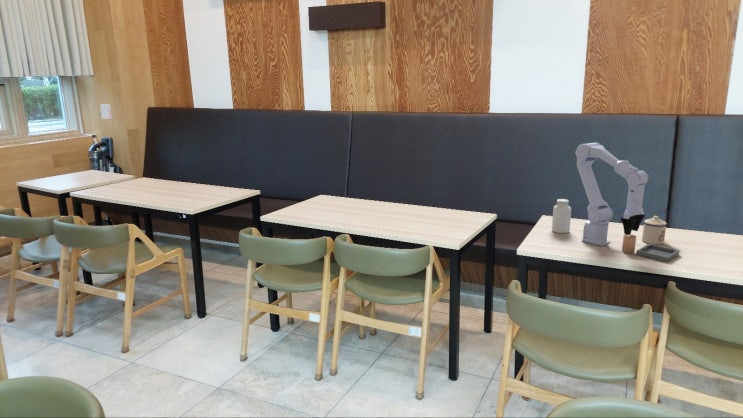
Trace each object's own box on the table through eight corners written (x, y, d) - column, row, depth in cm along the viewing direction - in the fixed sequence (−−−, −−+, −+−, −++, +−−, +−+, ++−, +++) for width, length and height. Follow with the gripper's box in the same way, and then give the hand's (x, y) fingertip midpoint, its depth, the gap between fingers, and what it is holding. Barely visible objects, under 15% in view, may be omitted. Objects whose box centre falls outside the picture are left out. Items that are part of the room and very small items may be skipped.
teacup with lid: (662, 246, 235) (666, 220, 232) (639, 242, 240) (642, 217, 237) (666, 239, 245) (670, 214, 242) (644, 235, 250) (647, 211, 247)
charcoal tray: (635, 255, 224) (636, 250, 224) (648, 248, 233) (649, 243, 232) (667, 262, 216) (667, 257, 215) (678, 254, 224) (679, 250, 224)
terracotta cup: (619, 251, 229) (621, 235, 227) (624, 249, 232) (626, 233, 230) (631, 254, 225) (633, 238, 223) (636, 251, 228) (638, 235, 227)
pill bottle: (550, 228, 262) (552, 197, 258) (567, 229, 261) (570, 198, 257) (553, 233, 254) (555, 201, 250) (571, 234, 253) (574, 202, 249)
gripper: (638, 205, 215) (633, 238, 219) (652, 199, 225) (647, 230, 228) (619, 202, 220) (616, 234, 224) (634, 196, 230) (630, 227, 233)
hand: (631, 232), depth 226 cm, fingers open, 7 cm apart
